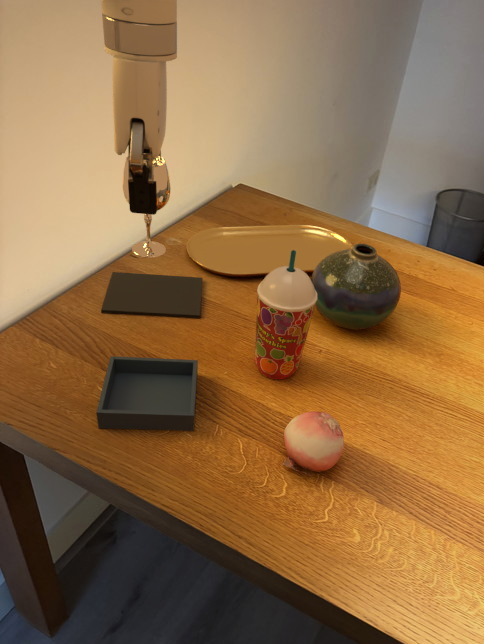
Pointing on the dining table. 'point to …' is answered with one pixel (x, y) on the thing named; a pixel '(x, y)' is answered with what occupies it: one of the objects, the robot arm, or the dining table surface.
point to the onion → (313, 442)
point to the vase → (356, 288)
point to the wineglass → (163, 194)
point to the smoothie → (283, 319)
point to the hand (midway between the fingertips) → (146, 200)
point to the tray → (148, 394)
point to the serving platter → (262, 248)
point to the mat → (153, 295)
